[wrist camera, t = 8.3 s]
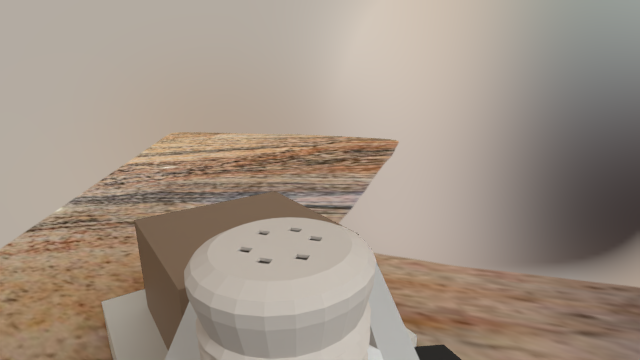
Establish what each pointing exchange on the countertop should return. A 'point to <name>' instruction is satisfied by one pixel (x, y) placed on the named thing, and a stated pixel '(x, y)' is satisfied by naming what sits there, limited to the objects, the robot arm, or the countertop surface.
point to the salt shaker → (283, 292)
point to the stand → (180, 270)
